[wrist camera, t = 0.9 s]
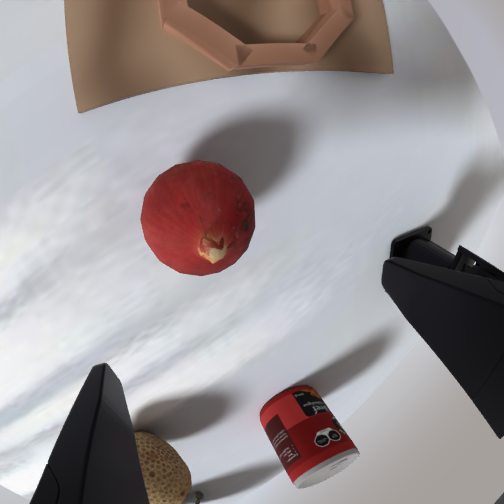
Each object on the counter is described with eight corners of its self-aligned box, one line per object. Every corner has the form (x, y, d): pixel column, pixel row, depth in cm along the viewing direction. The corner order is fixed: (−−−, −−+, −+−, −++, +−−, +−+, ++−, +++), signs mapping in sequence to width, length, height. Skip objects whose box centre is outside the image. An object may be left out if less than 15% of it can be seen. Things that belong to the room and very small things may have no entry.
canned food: (322, 395, 36) (365, 455, 27) (273, 426, 35) (309, 489, 26) (302, 375, 31) (353, 448, 22) (246, 412, 31) (284, 488, 22)
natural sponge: (146, 457, 30) (162, 522, 21) (88, 437, 25) (96, 513, 16) (192, 430, 29) (218, 502, 21) (131, 406, 24) (148, 496, 16)
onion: (227, 145, 17) (287, 170, 11) (234, 229, 20) (288, 294, 14) (133, 162, 16) (128, 198, 9) (150, 249, 19) (164, 328, 12)
